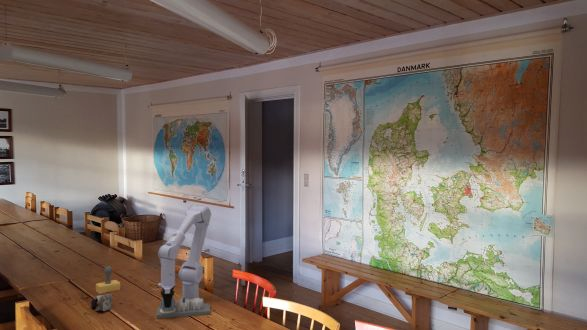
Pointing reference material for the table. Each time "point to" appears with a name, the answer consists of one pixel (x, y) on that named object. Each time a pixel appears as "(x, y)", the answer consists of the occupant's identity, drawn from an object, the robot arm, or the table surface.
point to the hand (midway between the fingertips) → (167, 304)
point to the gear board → (187, 313)
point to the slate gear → (170, 306)
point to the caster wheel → (102, 302)
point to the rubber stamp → (107, 283)
